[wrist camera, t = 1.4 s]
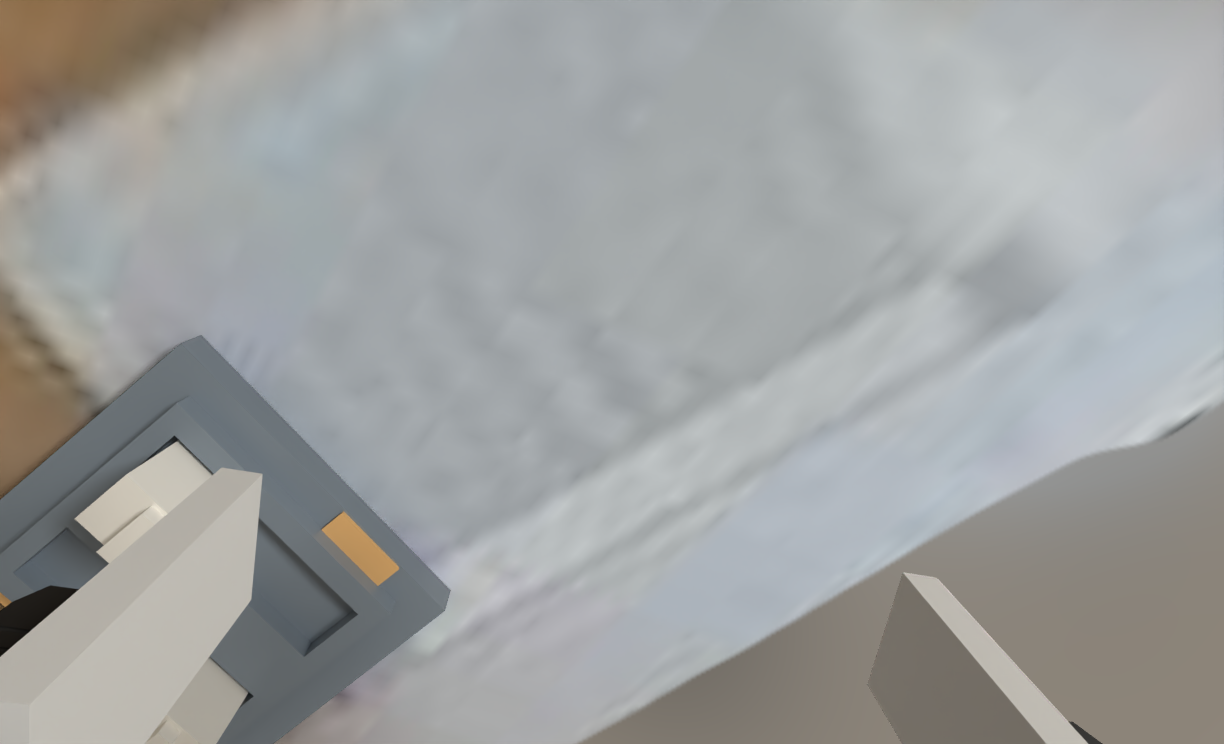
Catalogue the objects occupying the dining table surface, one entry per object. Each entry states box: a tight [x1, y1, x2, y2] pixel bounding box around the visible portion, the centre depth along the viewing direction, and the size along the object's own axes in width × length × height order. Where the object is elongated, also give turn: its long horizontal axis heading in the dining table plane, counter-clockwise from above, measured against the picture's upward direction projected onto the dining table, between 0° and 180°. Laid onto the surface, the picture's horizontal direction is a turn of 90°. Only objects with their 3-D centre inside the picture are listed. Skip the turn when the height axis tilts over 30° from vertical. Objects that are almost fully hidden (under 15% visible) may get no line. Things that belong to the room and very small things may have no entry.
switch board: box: [0, 335, 451, 744], centre depth 38 cm, size 18×16×3 cm
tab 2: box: [145, 656, 249, 744], centre depth 36 cm, size 4×3×6 cm
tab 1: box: [75, 440, 214, 563], centre depth 34 cm, size 4×3×6 cm
